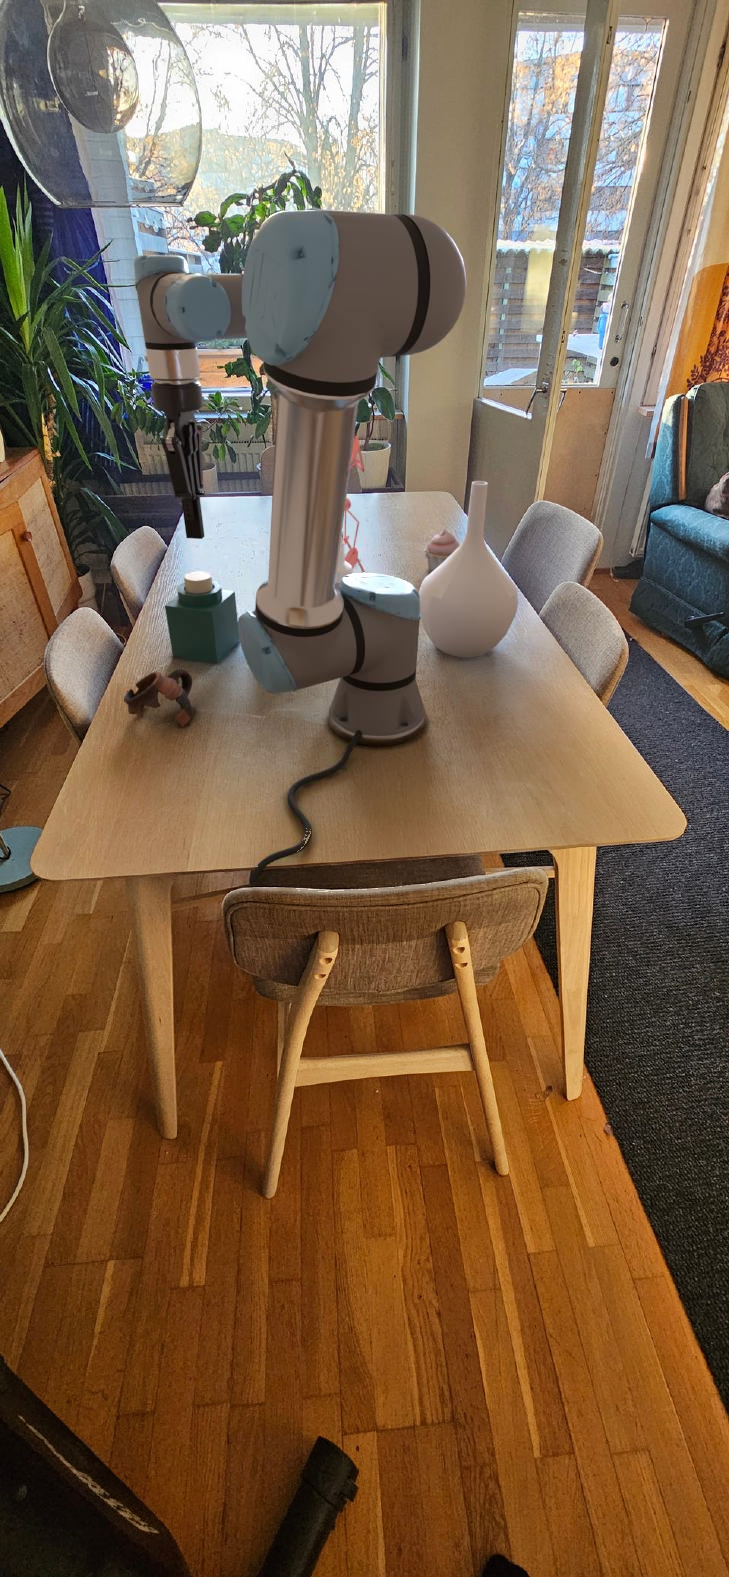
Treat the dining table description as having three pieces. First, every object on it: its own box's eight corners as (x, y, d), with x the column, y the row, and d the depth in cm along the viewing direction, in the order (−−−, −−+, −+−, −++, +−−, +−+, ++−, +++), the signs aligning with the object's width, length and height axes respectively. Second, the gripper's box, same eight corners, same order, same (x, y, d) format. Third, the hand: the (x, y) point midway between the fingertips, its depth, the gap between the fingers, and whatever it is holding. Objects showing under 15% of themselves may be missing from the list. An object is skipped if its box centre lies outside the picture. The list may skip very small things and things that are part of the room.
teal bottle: (217, 663, 131) (209, 600, 124) (172, 657, 133) (162, 594, 126) (239, 641, 139) (233, 580, 132) (197, 635, 141) (189, 575, 133)
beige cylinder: (205, 596, 126) (204, 582, 125) (181, 593, 128) (179, 579, 126) (217, 586, 130) (215, 572, 129) (193, 583, 131) (191, 569, 130)
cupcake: (416, 567, 173) (419, 524, 167) (452, 563, 175) (456, 522, 169) (430, 580, 166) (433, 537, 160) (467, 577, 168) (472, 533, 162)
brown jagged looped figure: (177, 740, 111) (142, 700, 107) (142, 746, 117) (107, 708, 113) (217, 689, 118) (185, 650, 113) (182, 697, 124) (151, 660, 120)
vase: (521, 667, 131) (548, 497, 114) (421, 669, 130) (433, 498, 112) (499, 626, 146) (520, 469, 128) (409, 627, 145) (418, 469, 127)
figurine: (353, 549, 183) (353, 394, 162) (376, 585, 163) (380, 414, 142) (293, 552, 180) (285, 395, 159) (309, 590, 160) (303, 416, 139)
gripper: (166, 374, 115) (186, 525, 129) (135, 385, 105) (161, 548, 119) (212, 376, 114) (227, 527, 128) (185, 387, 104) (205, 550, 118)
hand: (195, 537), depth 123 cm, fingers closed
